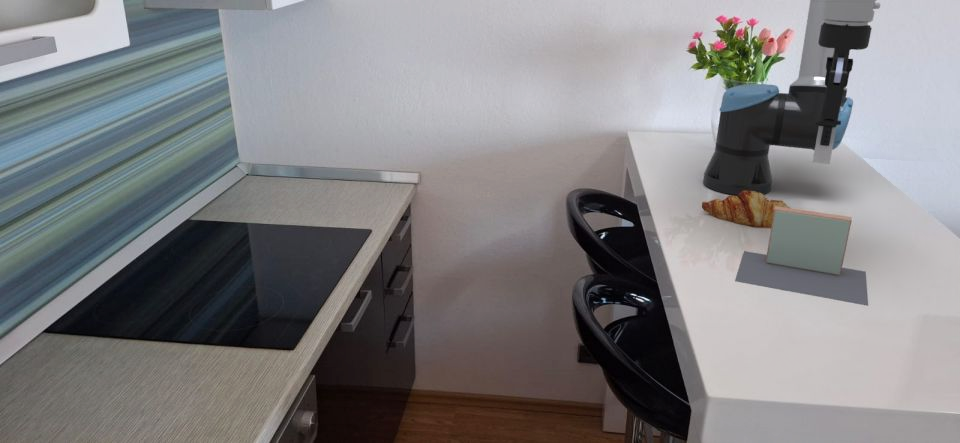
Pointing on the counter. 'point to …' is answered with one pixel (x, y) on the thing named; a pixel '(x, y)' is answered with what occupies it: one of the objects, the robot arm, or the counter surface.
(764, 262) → the mat
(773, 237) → the block
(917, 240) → the counter surface
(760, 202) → the croissant
